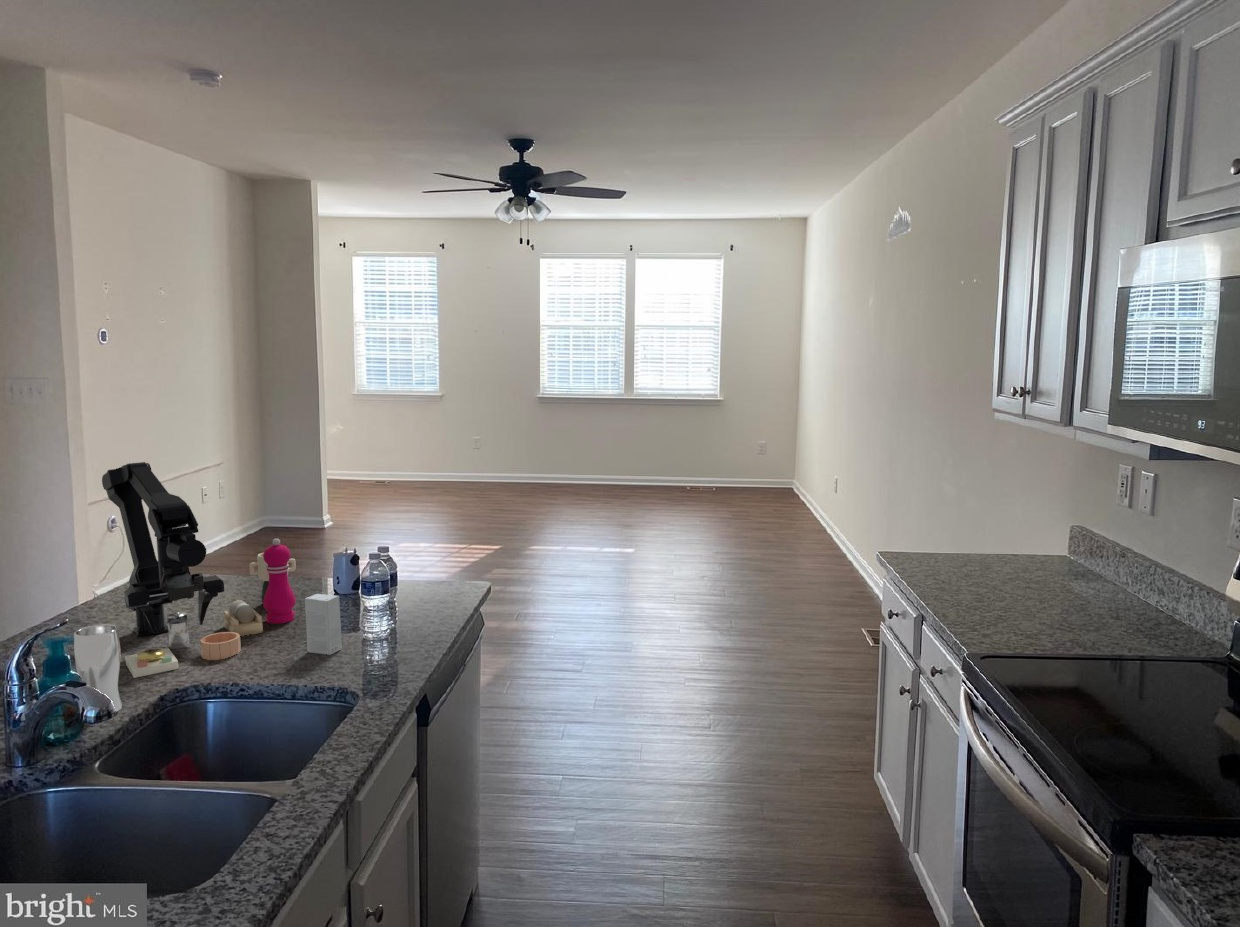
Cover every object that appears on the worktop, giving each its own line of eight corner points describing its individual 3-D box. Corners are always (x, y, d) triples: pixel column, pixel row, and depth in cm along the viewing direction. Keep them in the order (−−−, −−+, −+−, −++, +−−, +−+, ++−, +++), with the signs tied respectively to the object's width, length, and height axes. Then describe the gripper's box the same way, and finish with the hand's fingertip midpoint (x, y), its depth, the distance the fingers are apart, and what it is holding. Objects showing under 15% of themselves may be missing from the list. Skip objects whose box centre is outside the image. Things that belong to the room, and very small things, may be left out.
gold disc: (135, 656, 174) (135, 652, 174) (162, 650, 177) (162, 647, 177) (139, 663, 170) (139, 659, 170) (167, 657, 173) (167, 653, 173)
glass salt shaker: (167, 645, 186) (165, 612, 185) (187, 641, 189) (184, 609, 188) (171, 650, 183) (168, 616, 182) (191, 646, 185) (188, 613, 184)
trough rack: (224, 626, 199) (222, 600, 198) (250, 621, 202) (249, 596, 202) (235, 637, 191) (233, 610, 190) (262, 632, 195) (261, 606, 194)
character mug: (296, 597, 223) (293, 548, 221) (298, 604, 217) (296, 554, 215) (251, 602, 218) (248, 553, 216) (252, 609, 212) (249, 559, 210)
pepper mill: (285, 625, 200) (280, 542, 197) (257, 623, 201) (253, 541, 198) (302, 616, 207) (298, 536, 204) (276, 614, 208) (271, 534, 205)
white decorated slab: (125, 663, 175) (124, 652, 175) (168, 655, 180) (167, 644, 180) (133, 677, 167) (132, 666, 167) (178, 668, 172) (177, 657, 172)
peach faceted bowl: (198, 652, 182) (197, 636, 181) (235, 645, 186) (234, 629, 186) (206, 662, 176) (205, 646, 175) (244, 654, 180) (243, 638, 180)
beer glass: (92, 721, 147) (85, 639, 145) (72, 713, 151) (64, 632, 149) (132, 707, 153) (126, 627, 151) (112, 699, 157) (105, 621, 155)
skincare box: (342, 649, 184) (340, 595, 182) (330, 655, 180) (327, 601, 178) (319, 646, 186) (316, 593, 184) (306, 652, 182) (303, 598, 180)
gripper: (130, 573, 171) (135, 647, 173) (228, 559, 183) (232, 629, 185) (121, 562, 180) (127, 633, 182) (216, 550, 191) (220, 616, 193)
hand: (178, 628), depth 185 cm, fingers open, 9 cm apart
